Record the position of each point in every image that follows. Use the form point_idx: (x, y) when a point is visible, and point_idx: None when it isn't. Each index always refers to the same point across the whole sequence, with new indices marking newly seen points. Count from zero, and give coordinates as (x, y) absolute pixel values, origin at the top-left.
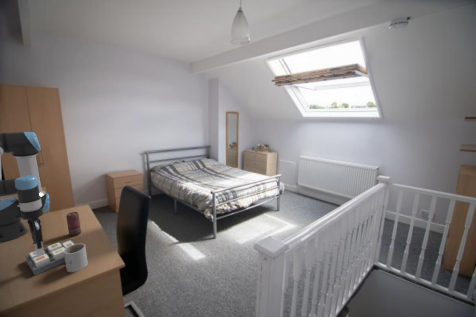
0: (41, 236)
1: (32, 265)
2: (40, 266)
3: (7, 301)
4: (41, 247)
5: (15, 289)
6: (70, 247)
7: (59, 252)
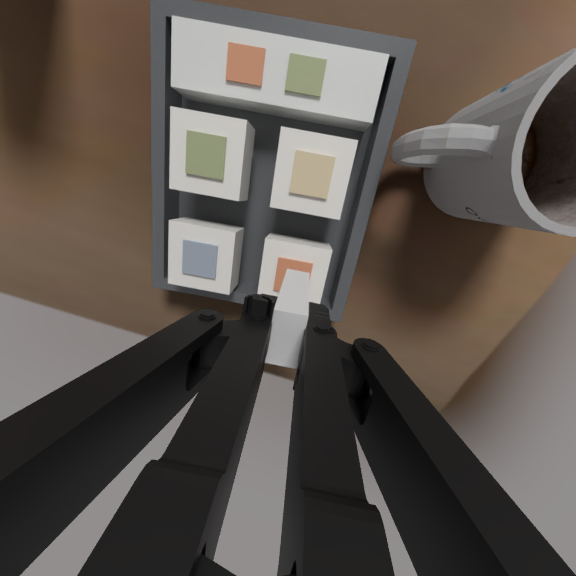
0: (428, 412)
1: None
2: (336, 292)
3: None
4: (326, 310)
5: None
6: (514, 143)
7: (336, 184)
